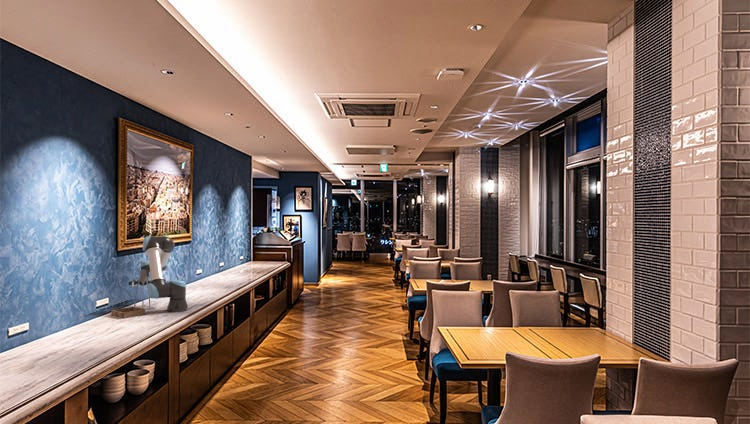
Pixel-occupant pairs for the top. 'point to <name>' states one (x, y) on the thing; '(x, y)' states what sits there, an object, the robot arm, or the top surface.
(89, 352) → the top surface
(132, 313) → the holder frame
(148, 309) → the slate tile
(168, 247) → the robot arm
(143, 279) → the citrus juicer
